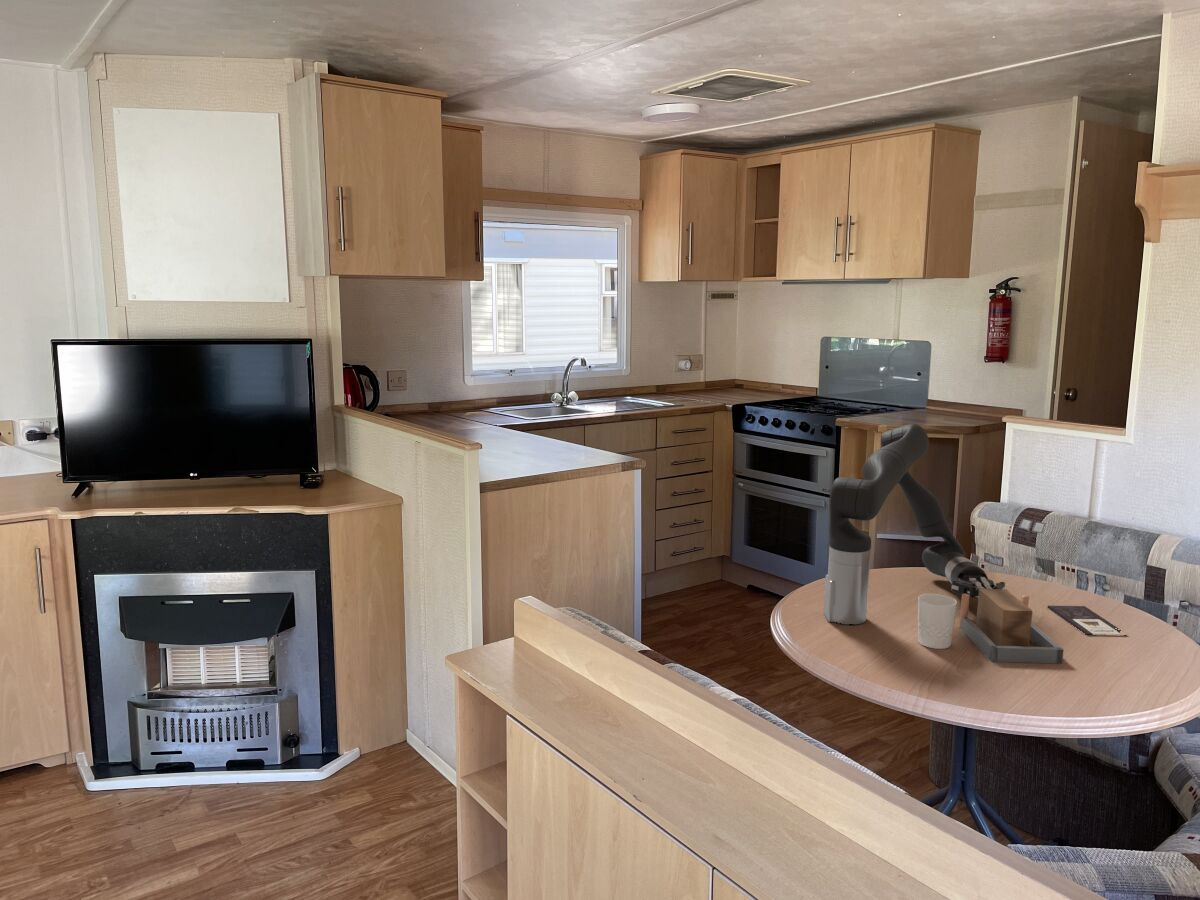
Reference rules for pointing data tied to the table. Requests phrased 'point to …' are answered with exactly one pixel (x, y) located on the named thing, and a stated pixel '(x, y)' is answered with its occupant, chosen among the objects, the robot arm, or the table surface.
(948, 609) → the white cup
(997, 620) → the walnut block
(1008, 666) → the table surface
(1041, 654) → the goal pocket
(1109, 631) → the chocolate bar
